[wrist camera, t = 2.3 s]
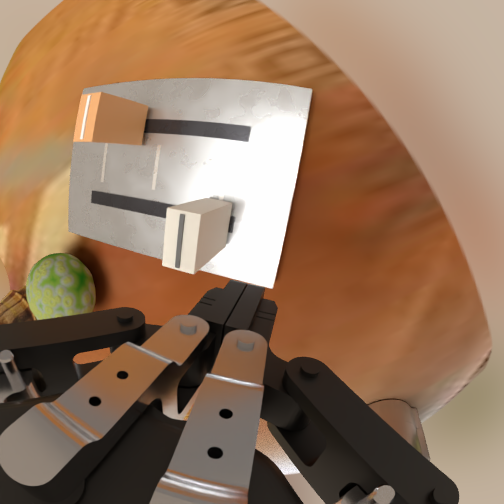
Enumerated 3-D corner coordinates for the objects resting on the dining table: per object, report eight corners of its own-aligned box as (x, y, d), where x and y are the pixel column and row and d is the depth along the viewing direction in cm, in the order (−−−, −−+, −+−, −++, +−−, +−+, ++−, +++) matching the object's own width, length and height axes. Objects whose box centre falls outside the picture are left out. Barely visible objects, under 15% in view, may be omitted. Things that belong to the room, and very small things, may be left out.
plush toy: (96, 347, 35) (-40, 402, 11) (63, 356, 39) (-40, 396, 16) (66, 261, 35) (-73, 281, 12) (39, 287, 40) (-67, 308, 17)
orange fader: (148, 105, 22) (99, 91, 15) (141, 145, 23) (90, 141, 17) (129, 106, 22) (80, 94, 16) (123, 144, 24) (72, 141, 17)
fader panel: (312, 95, 21) (312, 88, 19) (275, 281, 27) (272, 289, 25) (93, 91, 25) (82, 88, 23) (78, 228, 30) (67, 231, 29)
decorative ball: (83, 230, 30) (24, 250, 21) (122, 295, 32) (69, 333, 22) (55, 264, 34) (7, 287, 24) (88, 320, 35) (44, 352, 25)
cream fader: (232, 202, 23) (199, 214, 16) (225, 247, 24) (192, 275, 18) (206, 197, 23) (165, 208, 17) (200, 241, 25) (161, 266, 18)
